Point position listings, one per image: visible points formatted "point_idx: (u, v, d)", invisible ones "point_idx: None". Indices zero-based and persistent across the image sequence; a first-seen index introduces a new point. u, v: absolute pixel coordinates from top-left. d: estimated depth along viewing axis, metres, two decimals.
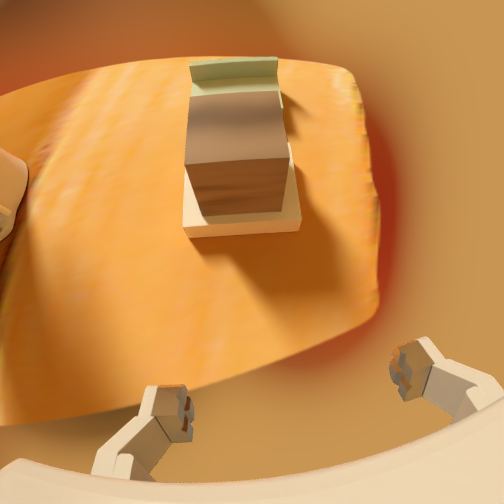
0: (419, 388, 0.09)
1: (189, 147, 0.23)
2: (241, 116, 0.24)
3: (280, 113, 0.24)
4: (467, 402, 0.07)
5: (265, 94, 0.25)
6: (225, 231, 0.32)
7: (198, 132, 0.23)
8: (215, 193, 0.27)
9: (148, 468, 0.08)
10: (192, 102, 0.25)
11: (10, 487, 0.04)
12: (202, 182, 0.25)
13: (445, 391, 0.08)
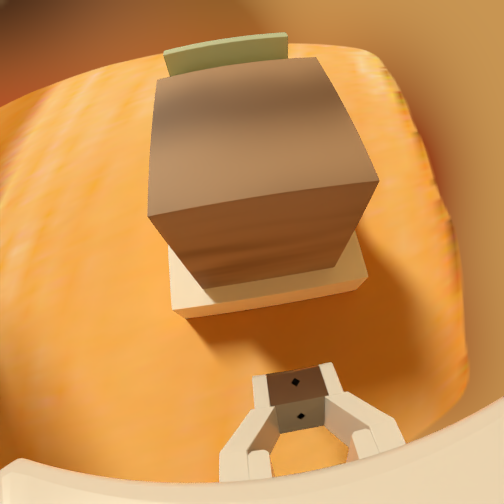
0: (316, 417, 0.09)
1: (156, 174, 0.10)
2: (259, 101, 0.12)
3: (333, 92, 0.12)
4: (352, 445, 0.07)
5: (296, 63, 0.13)
6: (243, 306, 0.19)
7: (175, 140, 0.11)
8: (221, 257, 0.14)
9: None
10: (161, 88, 0.13)
11: (10, 487, 0.04)
12: (193, 244, 0.12)
13: (342, 426, 0.08)
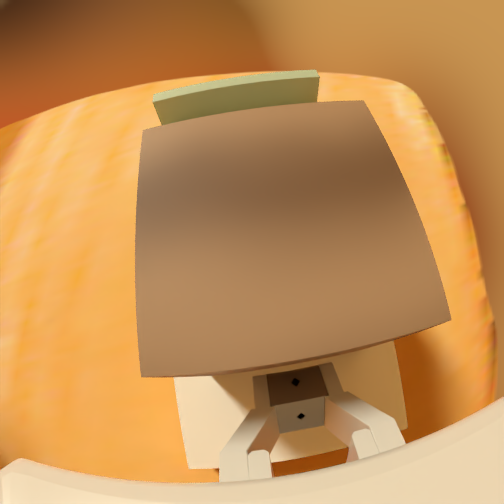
0: (316, 417, 0.09)
1: (147, 309, 0.07)
2: (292, 181, 0.08)
3: (393, 165, 0.08)
4: (353, 445, 0.07)
5: (339, 109, 0.10)
6: None
7: (170, 249, 0.08)
8: None
9: None
10: (148, 145, 0.09)
11: (10, 487, 0.04)
12: (203, 374, 0.09)
13: (342, 426, 0.08)
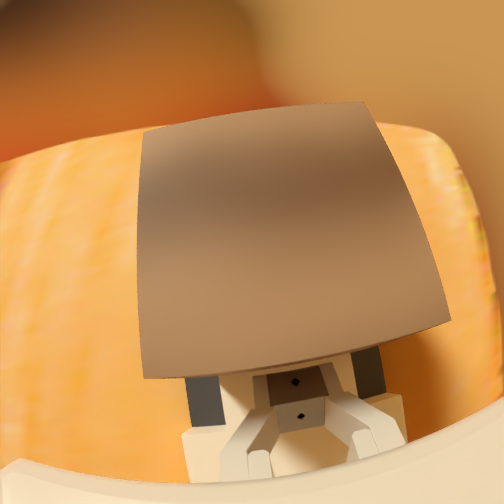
0: (316, 417, 0.09)
1: (149, 311, 0.07)
2: (293, 183, 0.08)
3: (393, 167, 0.09)
4: (353, 445, 0.07)
5: (339, 111, 0.10)
6: None
7: (171, 251, 0.08)
8: (237, 372, 0.11)
9: None
10: (149, 147, 0.09)
11: (10, 487, 0.04)
12: None
13: (342, 426, 0.08)
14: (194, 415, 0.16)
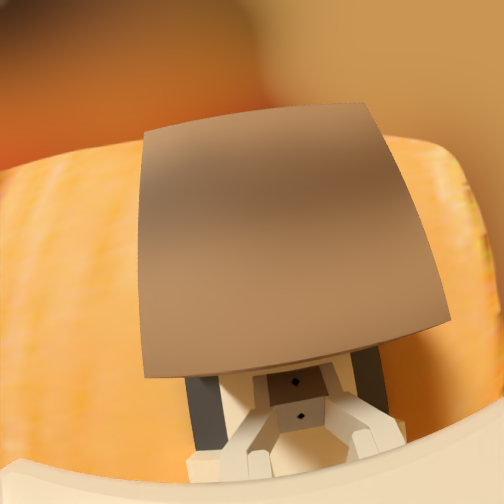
0: (316, 417, 0.09)
1: (150, 310, 0.07)
2: (294, 183, 0.09)
3: (394, 167, 0.09)
4: (353, 445, 0.07)
5: (339, 111, 0.10)
6: None
7: (172, 250, 0.08)
8: (237, 372, 0.11)
9: None
10: (150, 147, 0.09)
11: (10, 487, 0.04)
12: (205, 375, 0.09)
13: (342, 426, 0.08)
14: (198, 439, 0.16)
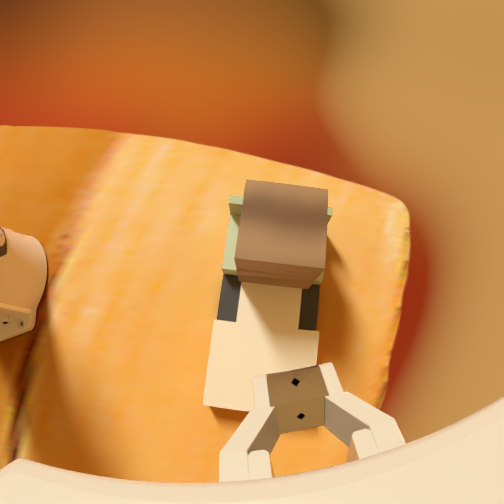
0: (316, 417, 0.09)
1: (240, 240, 0.27)
2: (290, 215, 0.28)
3: (325, 218, 0.28)
4: (352, 445, 0.07)
5: (316, 192, 0.29)
6: None
7: (250, 225, 0.28)
8: (254, 273, 0.31)
9: None
10: (247, 187, 0.29)
11: (10, 487, 0.04)
12: (245, 267, 0.29)
13: (342, 426, 0.08)
14: (219, 315, 0.37)
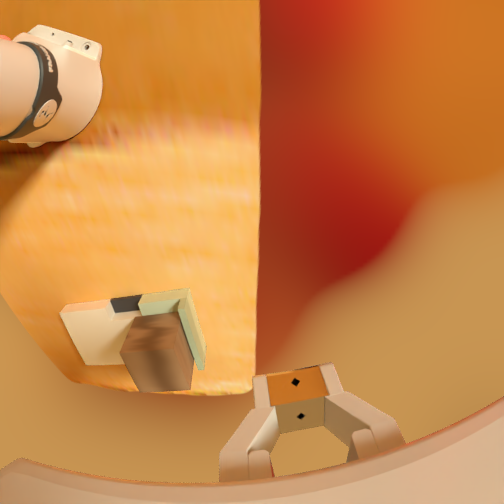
0: (316, 418, 0.09)
1: (130, 353, 0.37)
2: (160, 375, 0.39)
3: (169, 390, 0.40)
4: (352, 446, 0.07)
5: (184, 384, 0.40)
6: None
7: (142, 357, 0.37)
8: None
9: None
10: (167, 350, 0.37)
11: (10, 487, 0.04)
12: None
13: (342, 426, 0.08)
14: (114, 301, 0.47)
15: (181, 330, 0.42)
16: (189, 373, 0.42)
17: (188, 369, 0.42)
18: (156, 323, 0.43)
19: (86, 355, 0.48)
